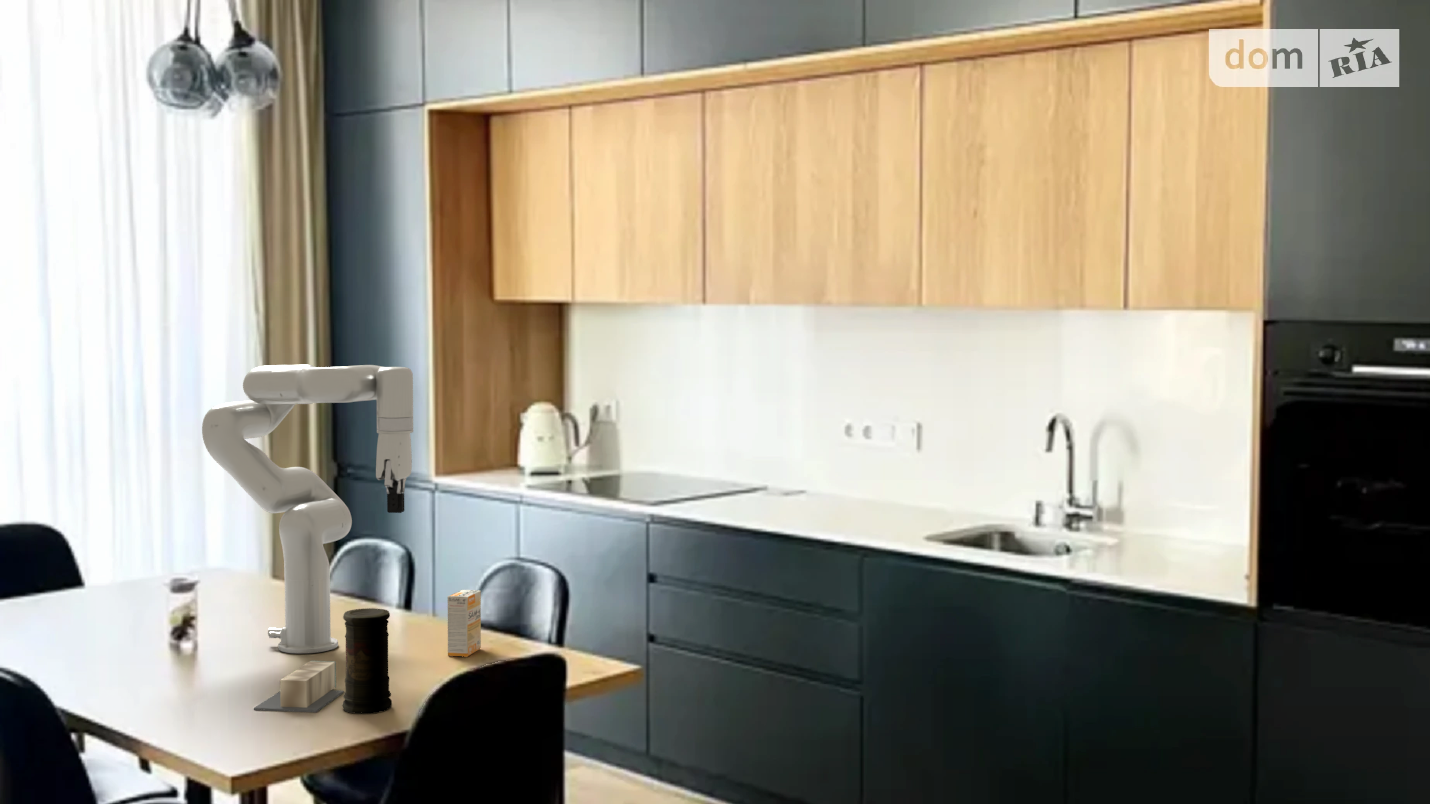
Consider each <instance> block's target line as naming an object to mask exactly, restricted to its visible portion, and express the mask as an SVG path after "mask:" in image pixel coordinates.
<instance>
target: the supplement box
mask: <svg viewBox="0 0 1430 804" xmlns="http://www.w3.org/2000/svg"><path fill="white" fill-rule="evenodd" d="M481 598H482V591H481V590H478V589H477V590H476V589H461V590H458V591H456V592H454V593H452V594H450V595H447V656H448V657H453V656H462V657H461V658H469V656H471V655H472V654H474V653H476V652H477V651H479V650H481V649H480V648H482V647H481V646H482V645H481V644H482V643H481V642H482V641H481V640H482V635H481V634H482V633H481V631H482V630H481V629H482V628H481V627H482V625H481V624H482V623H481V621H482V620H481V619H482V618H481V617H482V615H481V614H482V611H481V610H482V609H481V605H482V604H481V603H482V600H481ZM463 656H464V657H463Z"/></svg>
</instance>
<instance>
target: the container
mask: <svg viewBox="0 0 1430 804" xmlns="http://www.w3.org/2000/svg"><path fill="white" fill-rule="evenodd" d="M390 615H391V613H390V610H388V609H382V608H376V607H375V608H373V607H372V608H368V607H367V608H366V607H365V608H357V609H351V610H347V611H345V612H344V613H343V615H342V619H343V620H344V621H345V622H344V626H345V635H344V637H345V677H344V678H345V679H344V683H345V688H344V689H345V690H344V693H343V694H342V695H343V696H342V697H343V699H344V700H343V702H342V705H341V706H342V709H343V710H344V711H345V712H347V713H351V714H354V715H355V714H357V715H359V714H360V715H369V714H377V713H382V712H386V711H388V710H390V709H391V708H392V705H393V701H392V699H391V696H392V692H391V691H390V676H389V632H388V629H389V628H388V625H389V619H390V617H391V616H390Z"/></svg>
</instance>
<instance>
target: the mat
mask: <svg viewBox="0 0 1430 804" xmlns="http://www.w3.org/2000/svg"><path fill="white" fill-rule="evenodd" d="M344 693H345V690H343V689H342V690H337V689H332V690H331V691H329V692H328V693H327V694H325V695H324V696H322V697H321V698H319V699H318V700H317V701H315V702H314V703H312V704H311V705H309V706H308V707H307V708H306V707H281V702H280V691H278V692H276V693H275V694H273V695H271V696H270V697H269V698H267V699H265V700H263V701H262V702H260V703H259V704H258V705H256V706H255V707H253V710H254V711H265V712H266V711H271V712H272V711H273V712H292V713H293V712H295V713H296V712H299V713H318V712H319V711H321V710H323V708H324V707H326V706H327V705H329V704H330V703H332V702H333V701H335V700H336V699H338V698H339V697H340V696H341V695H344Z"/></svg>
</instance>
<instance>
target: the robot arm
mask: <svg viewBox="0 0 1430 804" xmlns="http://www.w3.org/2000/svg"><path fill="white" fill-rule="evenodd" d="M413 374H414V373H413V371H412V370H411V368H409V367H404V366H380V365H376V364H375V365H374V364H363V365H360V364H359V365H348V366H330V367H329V366H328V367H327V366H325V367H322V366H321V367H319V366H318V367H316V366H314V365H312V364H276V365H275V364H271V365H260V366H256V367H254V368H252V369H251V370H249V371H248V372H247V373H246V375H245V376H244V378H243V381H242V389H243V392H244V395H246V397H247V398H248V399H249V400H242V401H241V400H239V401H230V402H224V403H221V404H218V405H215V406H213V407H211V408H210V409H209V410H208V411H207V412H206V413H205V415H204V417H203V421H202V425H201V435H202V440H203V443H204V446H205V449H206V451H207V452H208V454H209V455H210V456H211V457H212V459H213V460H214V461H215V462H216V463H217V464H218V465H219V466H220V467H222V469H223V470H224V471H225V472H227V473H228V474H229V475H230V477H232V479H234V480H235V481H236V482H237V484H238V485H239V486H240V487H241V488H242V489H243V490H244V491H245V492H246V493H247V494H248V495H249V496H250V498H251V499H252V500H253V501H254V502H256V504H257V505H258V506H259V507H260V508H261V509H263V510H264V511H265V512H267V513H271V514H280V513H283V514H282V516H281V518H280V520H279V524H278V525H279V526H278V532H279V534H278V535H279V538H280V542H281V543H280V544H281V547H282V553H283V554H282V556H283V565H284V567H283V570H284V571H283V573H284V574H283V575H284V626H283V627H282V628H279V627H269V628H268V630H267V636H268V637H269V639H279V640H280V641H279V642H278V645H277V647H278V651H280V652H283V653H288V654H317V653H324V652H328V651H332V650H335V649H336V648H337V647H338V646H339V641H338V639H337V638H335V637H331V577H330V576H331V575H330V571H331V570H330V569H331V568H330V562H329V557H328V555H327V551H326V549H325V547H324V544H330V543H333V542H336V541H339V540H342V539H343V538H345V537H346V536H347V535H348V534H349V532H350V531H351V528H352V524H353V520H352V519H353V518H352V515H351V512H350V509H349V507H348V506H347V505H346V504H345V502H344V501H343V500H342V499H341V498H340V497H339V496H338V495H337V494H336V493H335V492H334V491H333V490H332V488H330V486H329V485H327V483H326V482H325V481H324V480H323V479H322V478H321V477H320V476H319V475H317V474H316V473H315V472H314V471H313V470H311V469H309V468H306V467H302V466H290V467H286V468H285V467H280V466H279V465H277V464H276V463H275V462H274V461H273V460H271V459H270V458H269V456H268V455H267V454H266V453H265V452H264V451H263V450H261V449H260V448H258V446H256V445H254V444H251V443H250V442H248V441H247V440H248V439H256V438H262V437H264V436H268V435H269V434H270V433H272V432H273V431H274V430H275V429H277V427H278V426H279V425H280V424H281V422H282V421H283V420H284V419H285V418H286V416H287V415H288V414H289V413H290V412H291V410H293V408H294V407H295V405H298V404H299V405H313V404H324V403H325V404H326V403H327V404H332V403H333V404H335V403H339V404H340V403H353V402H364V401H365V402H366V401H376V433H377V434H378V437H377V443H376V444H377V445H376V458H375V459H376V463H375V464H376V465H375V478H376V479H377V480H378V481H382V480H383V481H384V487H385V488H386V500H387V501H386V508H387V509H386V510H387V513H392V514H396V513H397V514H402V513H403V512H405V488H406V481H407V478H408V477H410V476H411V475H412V471H413V470H412V467H413V465H412V463H413V461H412V460H413V459H412V456H413V455H412V440H411V434H413V433H414V375H413Z"/></svg>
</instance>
